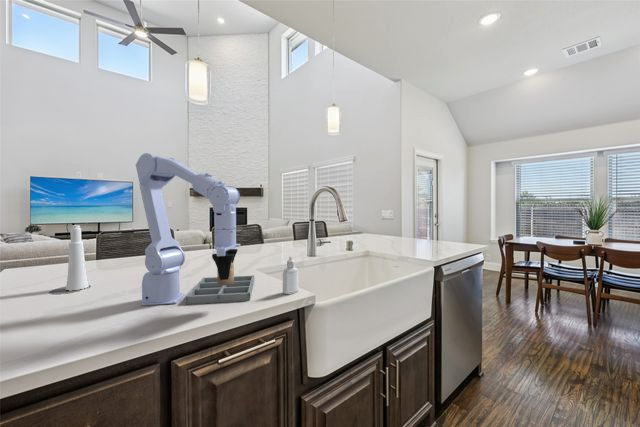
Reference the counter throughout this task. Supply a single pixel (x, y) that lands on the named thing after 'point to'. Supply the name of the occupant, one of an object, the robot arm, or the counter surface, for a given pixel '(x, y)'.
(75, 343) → the counter surface
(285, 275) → the eye dropper bottle
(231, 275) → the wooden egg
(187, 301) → the grey compartment tray
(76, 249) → the cosmetic bottle
